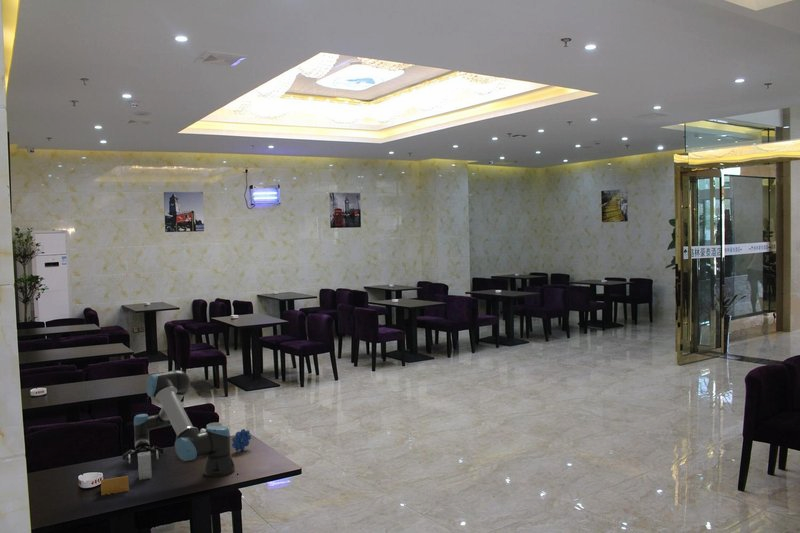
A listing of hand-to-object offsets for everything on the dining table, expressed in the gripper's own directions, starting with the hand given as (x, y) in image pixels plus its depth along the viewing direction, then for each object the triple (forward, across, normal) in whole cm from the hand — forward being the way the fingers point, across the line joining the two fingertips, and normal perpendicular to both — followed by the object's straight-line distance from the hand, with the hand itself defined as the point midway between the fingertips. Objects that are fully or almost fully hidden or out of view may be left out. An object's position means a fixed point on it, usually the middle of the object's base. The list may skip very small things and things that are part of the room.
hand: (143, 458), depth 330 cm
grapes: (-11, -52, -7) cm, 53 cm away
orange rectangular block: (+20, +14, -7) cm, 25 cm away
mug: (-34, -40, -7) cm, 52 cm away
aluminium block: (+9, 0, -7) cm, 11 cm away
